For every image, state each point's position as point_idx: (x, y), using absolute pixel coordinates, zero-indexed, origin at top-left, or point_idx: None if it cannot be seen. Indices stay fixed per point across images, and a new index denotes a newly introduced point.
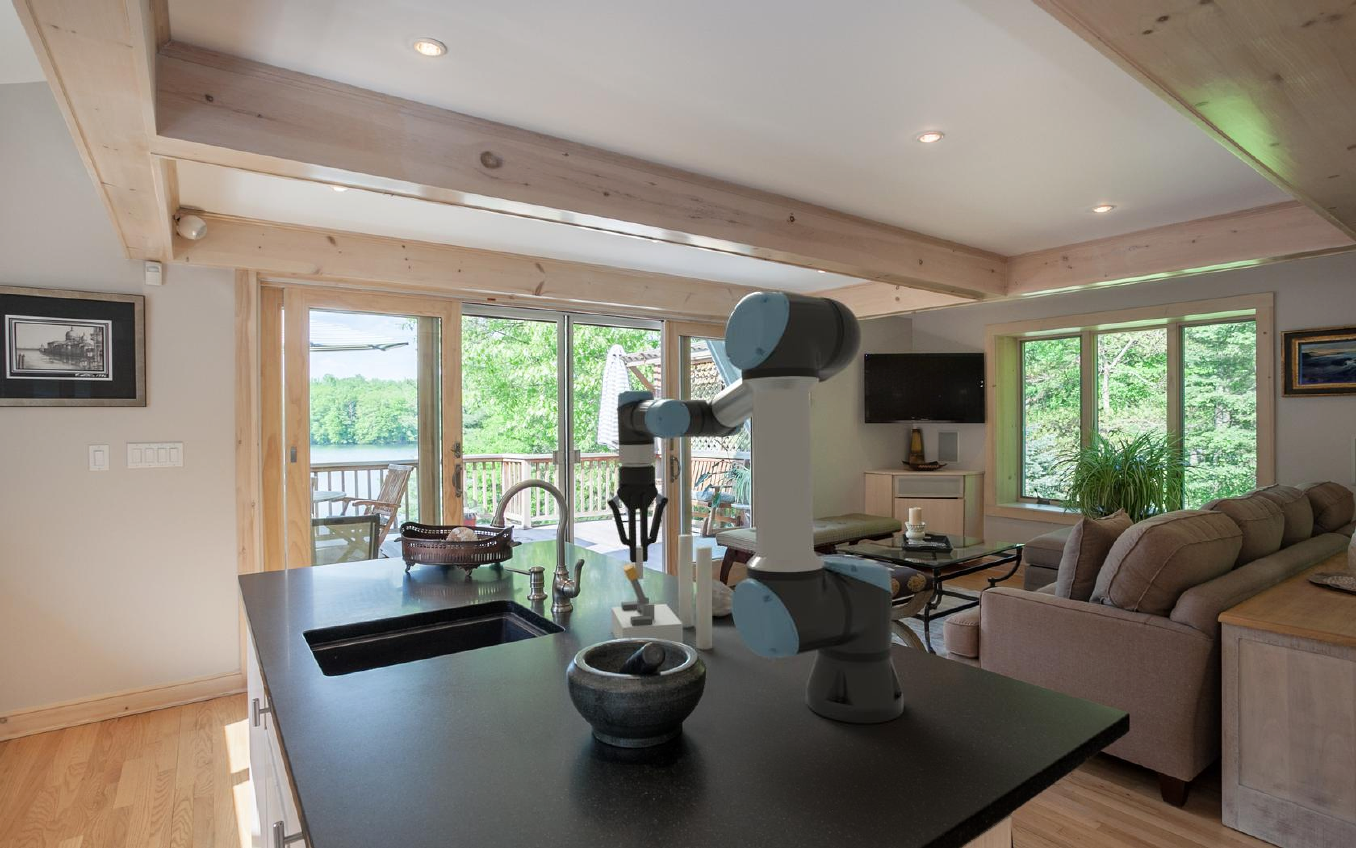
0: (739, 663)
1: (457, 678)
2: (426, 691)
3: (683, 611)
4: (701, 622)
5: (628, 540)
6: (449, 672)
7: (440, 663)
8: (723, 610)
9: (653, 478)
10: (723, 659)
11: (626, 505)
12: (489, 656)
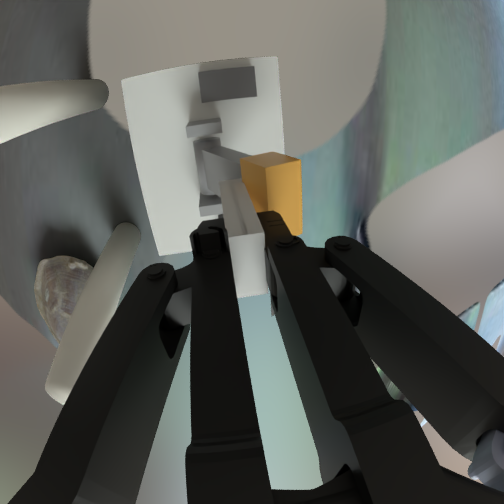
0: (52, 14)
1: (484, 46)
2: (498, 24)
3: (122, 239)
4: (77, 80)
5: (321, 264)
6: (492, 72)
7: (499, 110)
8: (54, 258)
9: None
10: (72, 29)
11: (452, 474)
12: (463, 115)
